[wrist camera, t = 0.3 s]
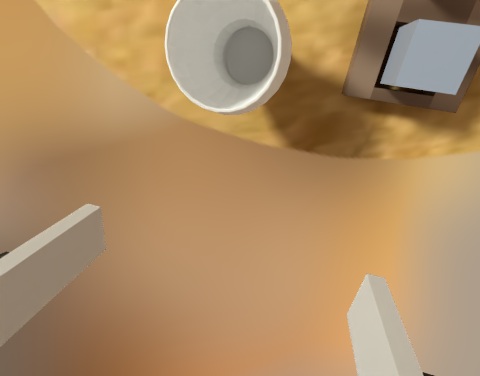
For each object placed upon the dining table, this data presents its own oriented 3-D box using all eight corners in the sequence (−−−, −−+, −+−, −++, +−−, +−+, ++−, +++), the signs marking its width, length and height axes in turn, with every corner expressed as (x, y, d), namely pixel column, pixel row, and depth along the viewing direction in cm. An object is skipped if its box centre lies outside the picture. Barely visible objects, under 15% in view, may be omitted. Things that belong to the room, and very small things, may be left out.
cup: (310, 29, 31) (316, -3, 17) (273, 113, 36) (256, 139, 22) (229, -6, 31) (174, -62, 18) (204, 83, 36) (146, 90, 23)
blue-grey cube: (399, 27, 26) (419, 18, 22) (455, 34, 26) (488, 26, 21) (380, 83, 29) (394, 85, 24) (431, 91, 28) (455, 94, 24)
